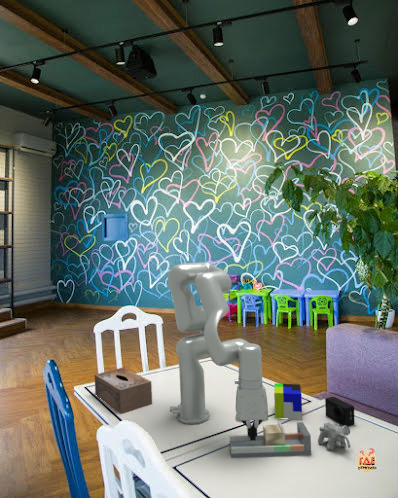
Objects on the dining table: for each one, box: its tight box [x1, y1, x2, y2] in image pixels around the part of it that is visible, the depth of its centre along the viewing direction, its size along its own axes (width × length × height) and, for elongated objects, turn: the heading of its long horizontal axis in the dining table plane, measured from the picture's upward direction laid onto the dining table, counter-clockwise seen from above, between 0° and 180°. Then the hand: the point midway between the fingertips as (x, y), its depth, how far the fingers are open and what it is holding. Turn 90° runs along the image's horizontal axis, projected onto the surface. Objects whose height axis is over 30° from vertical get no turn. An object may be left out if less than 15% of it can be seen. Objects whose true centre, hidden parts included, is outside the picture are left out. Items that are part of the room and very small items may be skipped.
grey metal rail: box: [228, 432, 312, 459], centre depth 126 cm, size 25×9×3 cm, turn 90°
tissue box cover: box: [94, 367, 153, 415], centre depth 171 cm, size 26×14×10 cm, turn 38°
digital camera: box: [324, 396, 356, 428], centre depth 144 cm, size 10×5×7 cm, turn 24°
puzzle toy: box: [273, 383, 303, 421], centre depth 151 cm, size 10×10×10 cm
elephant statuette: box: [317, 422, 351, 451], centre depth 125 cm, size 9×12×8 cm
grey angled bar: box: [296, 421, 312, 452], centre depth 126 cm, size 2×9×5 cm, turn 0°
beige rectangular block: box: [262, 420, 287, 446], centre depth 126 cm, size 6×9×6 cm
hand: (252, 438), depth 127 cm, fingers closed
